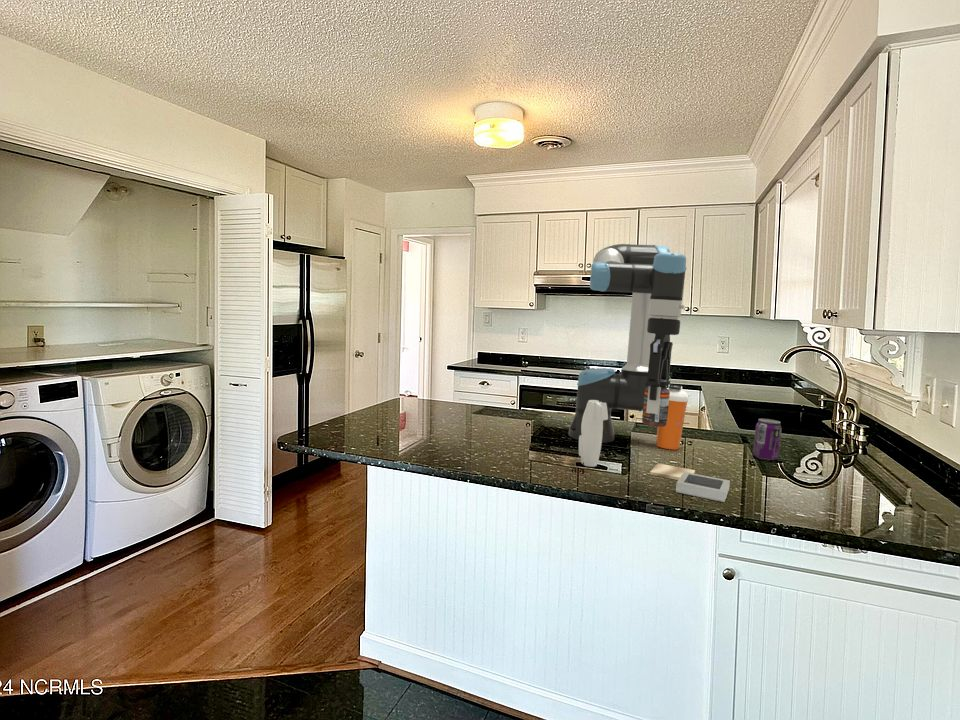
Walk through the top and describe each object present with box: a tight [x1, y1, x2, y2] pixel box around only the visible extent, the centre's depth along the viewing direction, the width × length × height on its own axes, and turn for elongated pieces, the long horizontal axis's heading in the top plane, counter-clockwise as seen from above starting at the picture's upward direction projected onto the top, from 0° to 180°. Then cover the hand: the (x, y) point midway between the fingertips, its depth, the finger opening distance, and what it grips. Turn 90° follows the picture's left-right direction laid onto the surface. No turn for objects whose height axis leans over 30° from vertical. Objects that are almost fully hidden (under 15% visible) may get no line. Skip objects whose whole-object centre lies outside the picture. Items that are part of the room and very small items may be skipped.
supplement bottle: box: [641, 379, 670, 428], centre depth 138 cm, size 6×6×11 cm
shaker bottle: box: [655, 384, 689, 451], centre depth 180 cm, size 9×9×20 cm
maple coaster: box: [649, 463, 696, 481], centre depth 151 cm, size 10×10×1 cm
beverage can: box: [752, 418, 782, 461], centre depth 173 cm, size 7×7×12 cm
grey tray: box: [675, 472, 731, 503], centre depth 138 cm, size 11×11×2 cm
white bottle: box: [578, 400, 608, 468], centre depth 154 cm, size 7×18×7 cm
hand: (655, 411), depth 138 cm, fingers closed on supplement bottle, 6 cm apart
